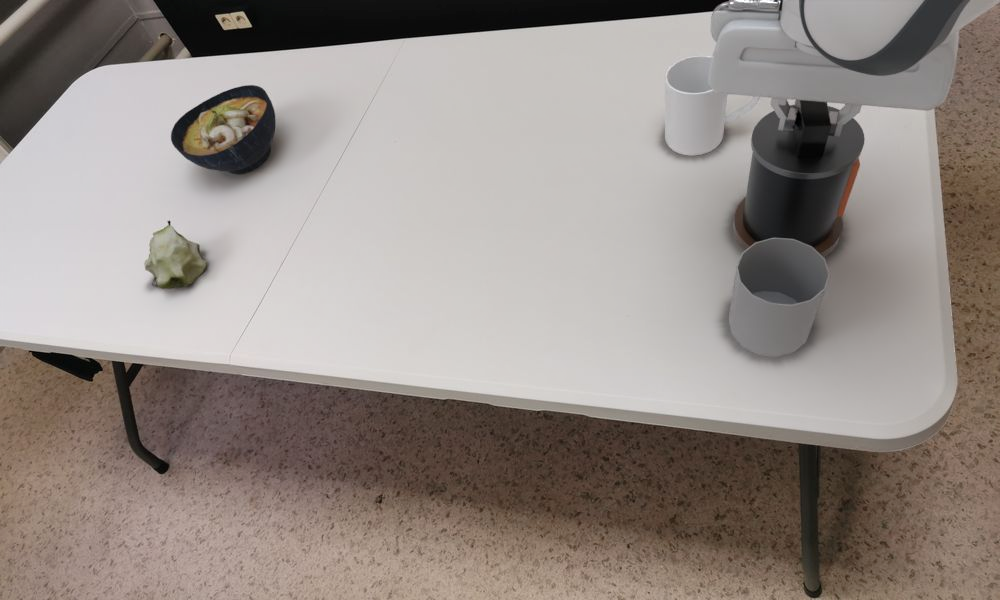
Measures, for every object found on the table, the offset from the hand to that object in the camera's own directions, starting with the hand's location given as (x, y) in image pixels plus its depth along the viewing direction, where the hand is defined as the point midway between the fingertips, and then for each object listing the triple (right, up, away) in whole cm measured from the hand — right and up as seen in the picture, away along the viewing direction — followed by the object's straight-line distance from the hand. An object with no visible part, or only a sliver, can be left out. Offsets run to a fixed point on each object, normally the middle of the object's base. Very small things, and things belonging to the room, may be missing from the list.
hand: (809, 129), depth 63 cm
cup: (-2, -20, +6) cm, 21 cm away
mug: (-2, +6, +24) cm, 25 cm away
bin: (+3, -8, +11) cm, 14 cm away
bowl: (-76, +8, +46) cm, 89 cm away
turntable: (+3, -9, +13) cm, 16 cm away
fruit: (-80, -13, +32) cm, 87 cm away
